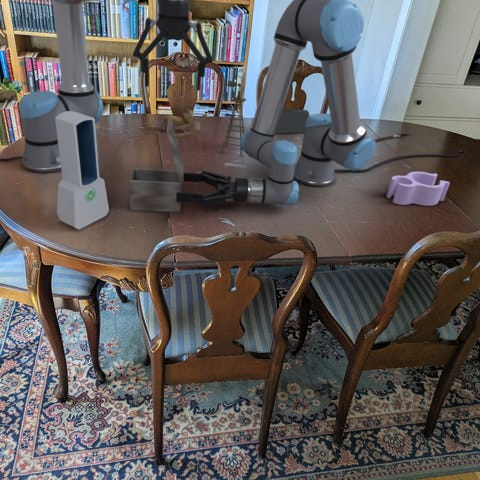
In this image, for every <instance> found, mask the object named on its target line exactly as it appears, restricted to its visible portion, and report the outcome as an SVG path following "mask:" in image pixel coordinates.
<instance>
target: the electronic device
mask: <svg viewBox="0 0 480 480" xmlns="http://www.w3.org/2000/svg"><path fill="white" fill-rule="evenodd" d="M55 122H56V130H57V138H58V146H59V154H60V162H61V170H60V171H61V177H62V178H61V180H60V181H59V183H58V185H57V200H56V202H57V203H56V215H57V217H58V219H59V221H61V222H62V223H64V224H66V225H67V226H70V227H72V228H74V229H77V230H79V231H80V230H82V229H83V228H85V227H87V226H88V225H89V226H90V225H91V224H93V223H95V222H97V221H99V220H100V219H103V218H104V217H106V216H107V215H108V214H109V211H110V208H109V207H110V206H109V202H108V195H107V190H106V183H105V179H104V178H102V177H100V168H99V167H100V166H99V156H98V155H99V154H98V142H97V131H96V129H97V128H96V123H95V118H92V117H89V116H86V115H84V114H81V113H78V112H74V111H66V112H63V113H61V114H59V115H58V116H57V117H55Z"/></svg>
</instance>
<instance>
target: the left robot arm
mask: <svg viewBox="0 0 480 480" xmlns="http://www.w3.org/2000/svg"><path fill="white" fill-rule="evenodd" d="M51 2H52V8H53V15H54V26H55V34H56V42H57V51H58V59H59V68H60V77H61V82H60V83H59V84H58V86H57V92H58V94H56V92H54V91H51V90H42V91H41V90H37V91H32V92H30V93H26V94H24V96H22V97H21V99H20V100H19V103H18V104H19V116H20V120H21V126H22V132H23V136H24V148H23V153H22V155H21V156H13V157H8V158H5V157H3V158H2V157H1V158H0V161H1V162H9V161H14V160H21V159H22V160H21V161H22V166H23V168H24V169H25V170H27V171H29V172H33V173H39V174H46V173H56V172H61V171H62V170H61V162H60V154H59V146H58V138H57V130H56V122H55V117H57V116H58V115H59V114H61V113H63V112H66V111H74V112H78V113H81V114H84V115H86V116H89V117H92V118H95V124H98V123H99V122H100V121H101V119H102V117H103V113H104V103H103V99H101V98H102V96H101V95H100V93H99V91H97V90H96V89H95V86H94V85H93V84H92V83H91V82H90V77H89V65H88V64H89V63H88V53H87V40H86V30H85V18H84V6H83V4H84V2H85V0H51ZM157 2H158V6H157V7H158V8H157V9H158V11H157V12H158V16H157V19H153V18H152V17H150V16H148V17H146V19H145V21H144V29H143V31H142V33H141V35H140V38H139V40H138V42H137V44H136V46H135V47H134V50H133V52H132V56H133V57H134V58H137V59H139V61H140V65H139V66H140V72H141V73H143V74H144V87H146V88H147V87H148V88H149V86H150V61H149V60H150V59H149V58H148V56H149V55H150V53H151V52H152V51H153V50H154V49H155V48H156V47H157V45H158V44H159V43H160V42H161V41H162V40H163V39H166V40H167V41H172V40H174V41H177V42H180V41H182V40H183V42H184V43H185V44H186V45H187V47H188V48H189V50H190V51H191V53H193V55H194V57H195V58H196V59H197V60H198V62H197V79H196V80H197V82H196V83H197V84H196V91H201V78H205V76H206V65H208V64H211V63H213V61H214V59H213V56H212V54H211V51H210V49H209V46H208V44H207V40H206V38H205V35H204V34H203V29H202V23H201V21H197V22H191V21H190V1H189V0H158V1H157ZM155 26H156V27H157V28H158V30H159V33H158V34H157V35H156V36H155V37H154V38H153V40H152V41H151V42H150V43H149V45H148V46H147V47H146V48H145V49H144V50H143V52H141V50H142V48H143V45H144V43H145V41H146V39H147V37H148V35H149V33H150V30H151V29H154V27H155ZM191 29H192V30H193V32H194V33H196V35H197V38H198V40H199V43H200V45H201V48H202V50H203V52H204V56H205V57H204V56H203V54H202V52H201V51H200V50H199V49H198V47H197V46H196V45H195V42H193V41H192V38H191V37H190V35H189V34H188V32H189V31H190V30H191Z"/></svg>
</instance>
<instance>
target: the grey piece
mask: <svg viewBox="0 0 480 480" xmlns="http://www.w3.org/2000/svg"><path fill="white" fill-rule="evenodd" d="M184 128H185V129H189V128H193V130H192V131H186V133H184V132H181V133H176V131H178V130H181V129H184ZM166 135H167V139H168V143H169V147H170V150H171V155H172V159H173V162H174V167H175V170H176V171H177V175H178V178H179V182H182V183H184V181H183V177H184V173H185V166H184V162H183V158H182V153H181V150H180V146H179V140H178V138H181V137H187V136H192V135H194V136H195V137H198V136H200V135H201V121H199V120H196V121H194V123H190V124H189V125H183V126H181V125H177V126H175V125H174V124H173V121H172V119H171V120H168V125H166Z"/></svg>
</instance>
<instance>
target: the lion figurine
mask: <svg viewBox="0 0 480 480" xmlns="http://www.w3.org/2000/svg"><path fill="white" fill-rule="evenodd" d="M171 119H172V121H173V125H174V126H183V125H189V124H191V122H192V121H193V119H194V110H191V109H186V110H185V111H184V112H183V113H181V114H180V115H177V116H176V115H172V114H168V115H165V116H164V117H163V119H162V121H161V126H160V128H159V129H158V131H162V130H163V131H165V130H166V128H165V127H166V126H167V125H168V120H171ZM180 131H182V133H186V132H187V131H186V128H184V129H180Z"/></svg>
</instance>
